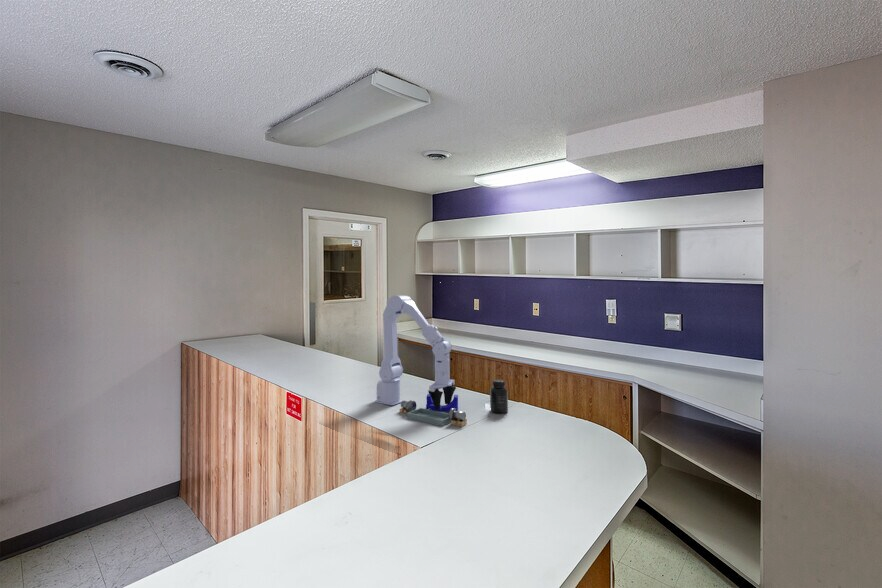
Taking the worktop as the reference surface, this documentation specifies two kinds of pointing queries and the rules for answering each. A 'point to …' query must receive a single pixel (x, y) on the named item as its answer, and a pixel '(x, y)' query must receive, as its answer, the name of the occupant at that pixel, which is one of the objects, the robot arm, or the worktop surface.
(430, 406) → the blue bearing cap
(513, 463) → the worktop surface
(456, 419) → the shaft
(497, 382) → the supplement bottle
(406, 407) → the shaft
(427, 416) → the grey-blue rectangular tray
